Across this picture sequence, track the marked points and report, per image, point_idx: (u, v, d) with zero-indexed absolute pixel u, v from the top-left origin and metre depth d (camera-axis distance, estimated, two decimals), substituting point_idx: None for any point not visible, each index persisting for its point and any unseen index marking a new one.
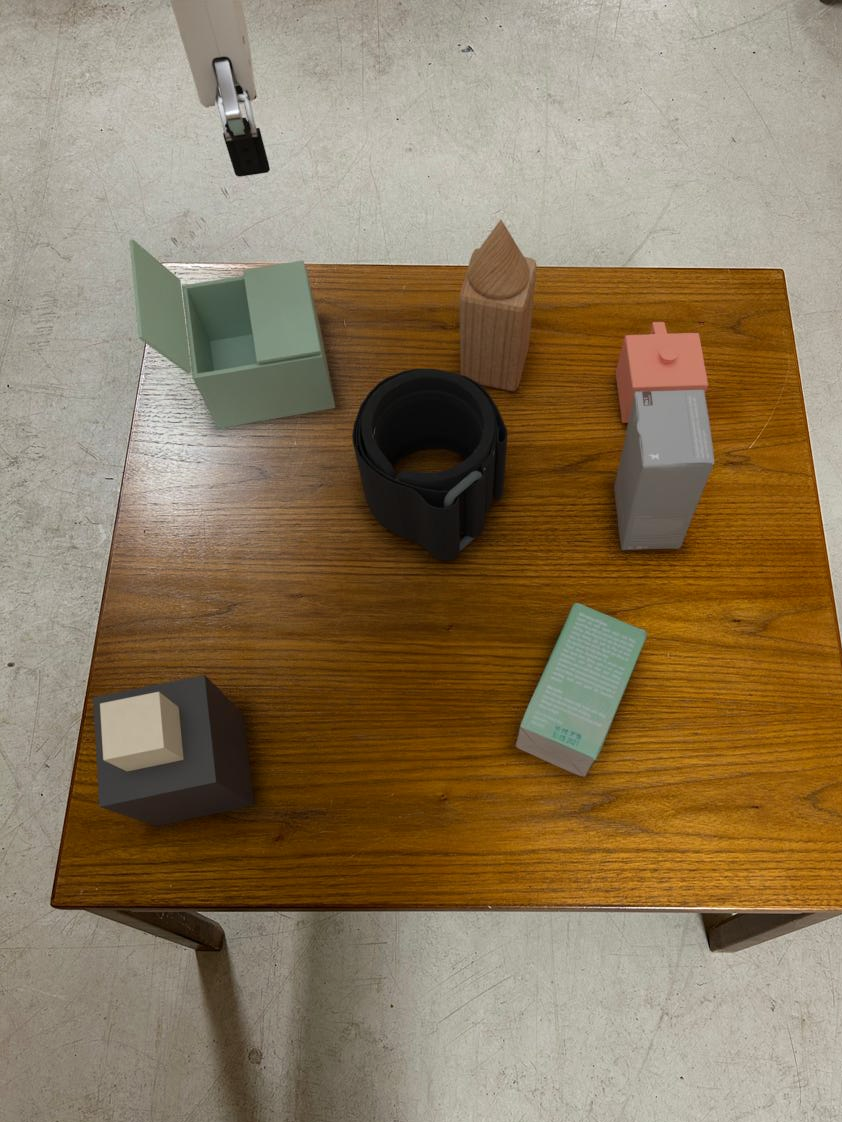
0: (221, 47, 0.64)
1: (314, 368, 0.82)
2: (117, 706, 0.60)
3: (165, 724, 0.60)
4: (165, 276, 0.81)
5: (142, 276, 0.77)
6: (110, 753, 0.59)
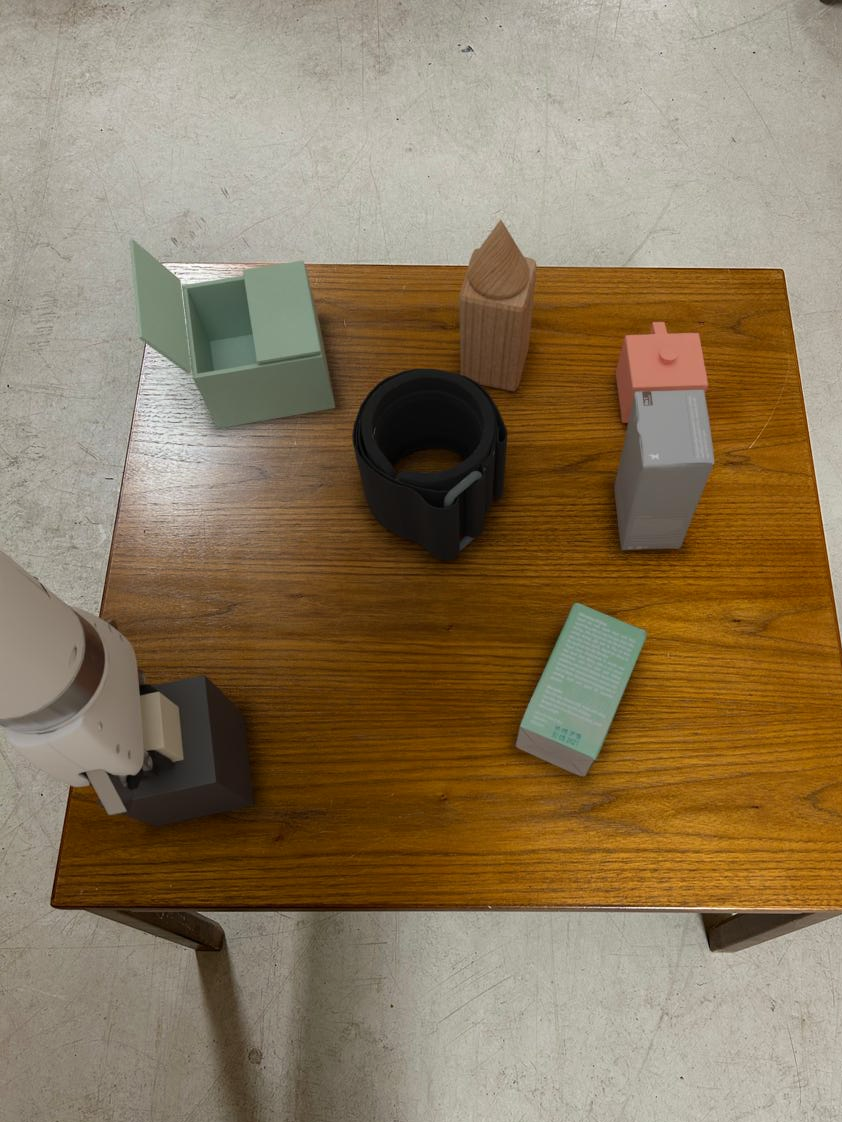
0: (88, 767, 0.50)
1: (314, 368, 0.82)
2: None
3: (165, 724, 0.60)
4: (165, 276, 0.81)
5: (142, 276, 0.77)
6: None
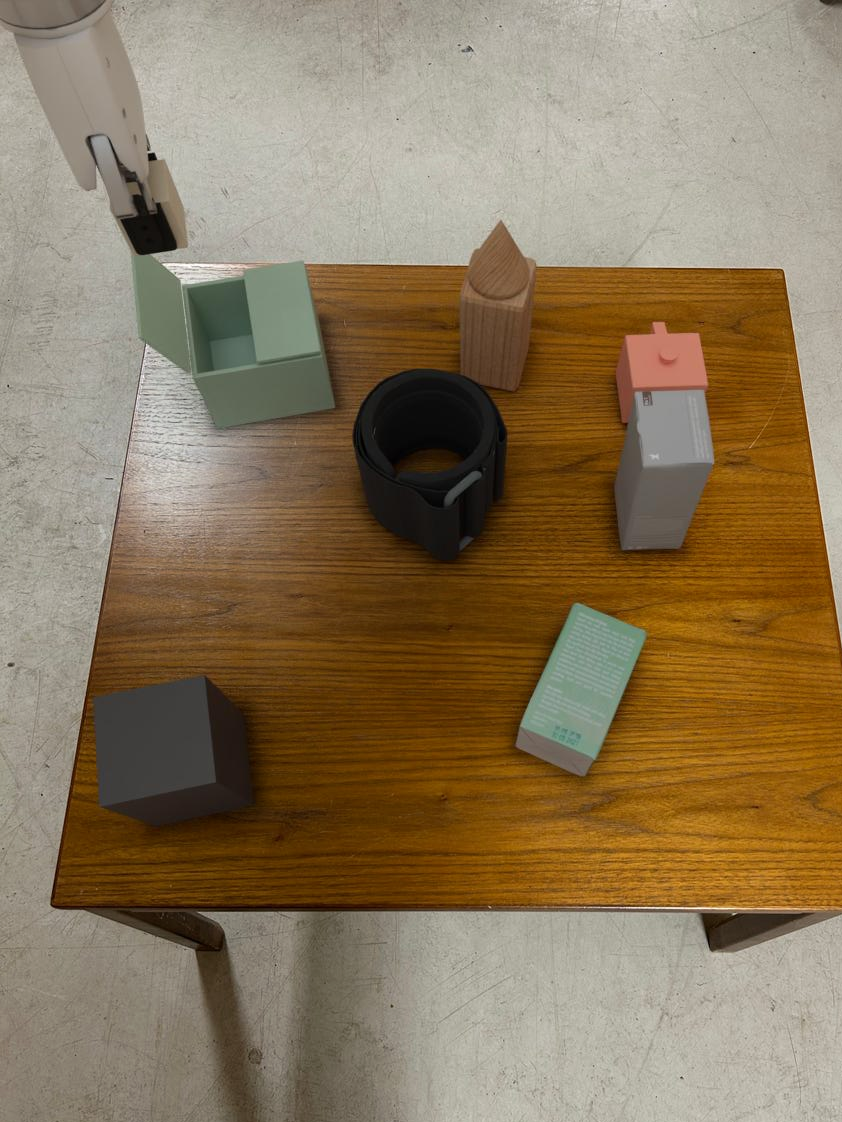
0: (95, 123, 0.51)
1: (314, 368, 0.82)
2: None
3: (171, 191, 0.62)
4: (165, 276, 0.81)
5: (142, 276, 0.77)
6: None
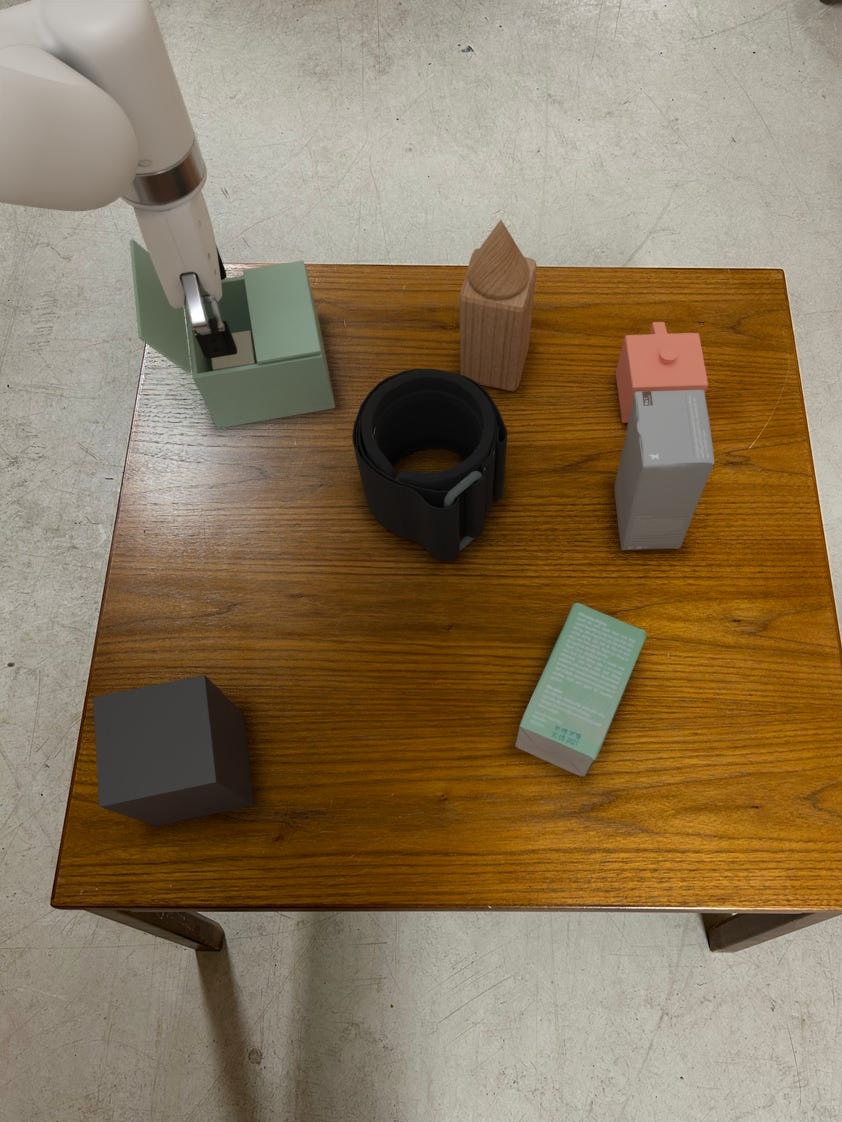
0: (188, 265, 0.69)
1: (314, 368, 0.82)
2: None
3: (254, 353, 0.86)
4: None
5: (142, 276, 0.77)
6: (217, 365, 0.85)
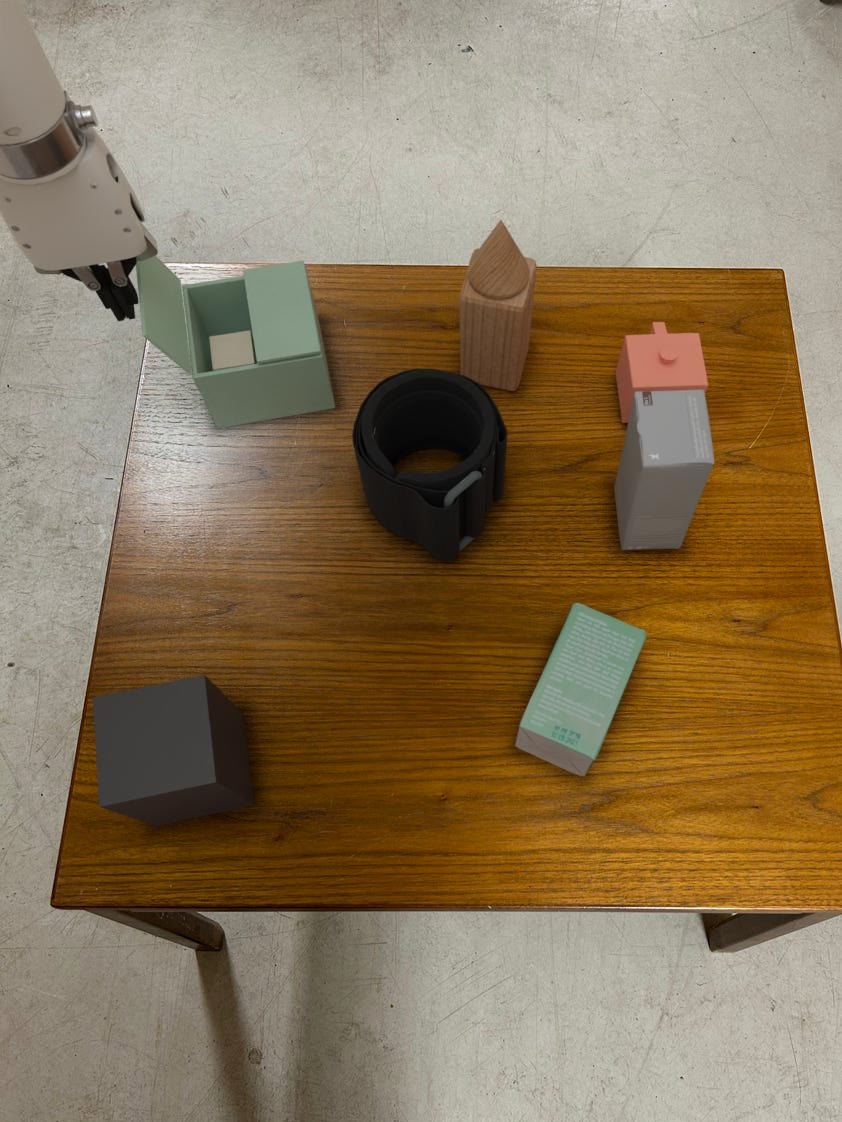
0: None
1: (314, 368, 0.82)
2: (221, 338, 0.86)
3: (254, 353, 0.86)
4: (166, 275, 0.81)
5: (145, 274, 0.77)
6: (217, 365, 0.85)
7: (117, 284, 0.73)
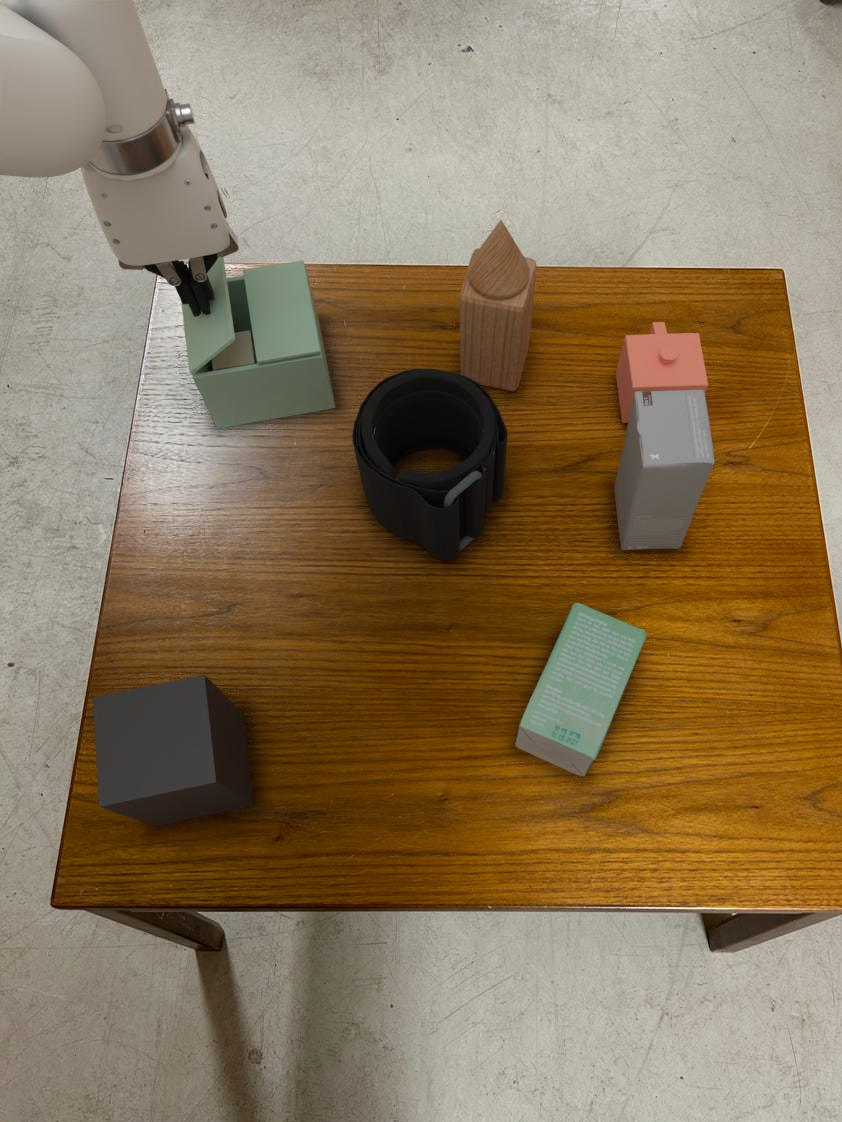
0: None
1: (314, 368, 0.82)
2: None
3: (254, 353, 0.86)
4: None
5: None
6: (217, 365, 0.85)
7: (197, 280, 0.75)
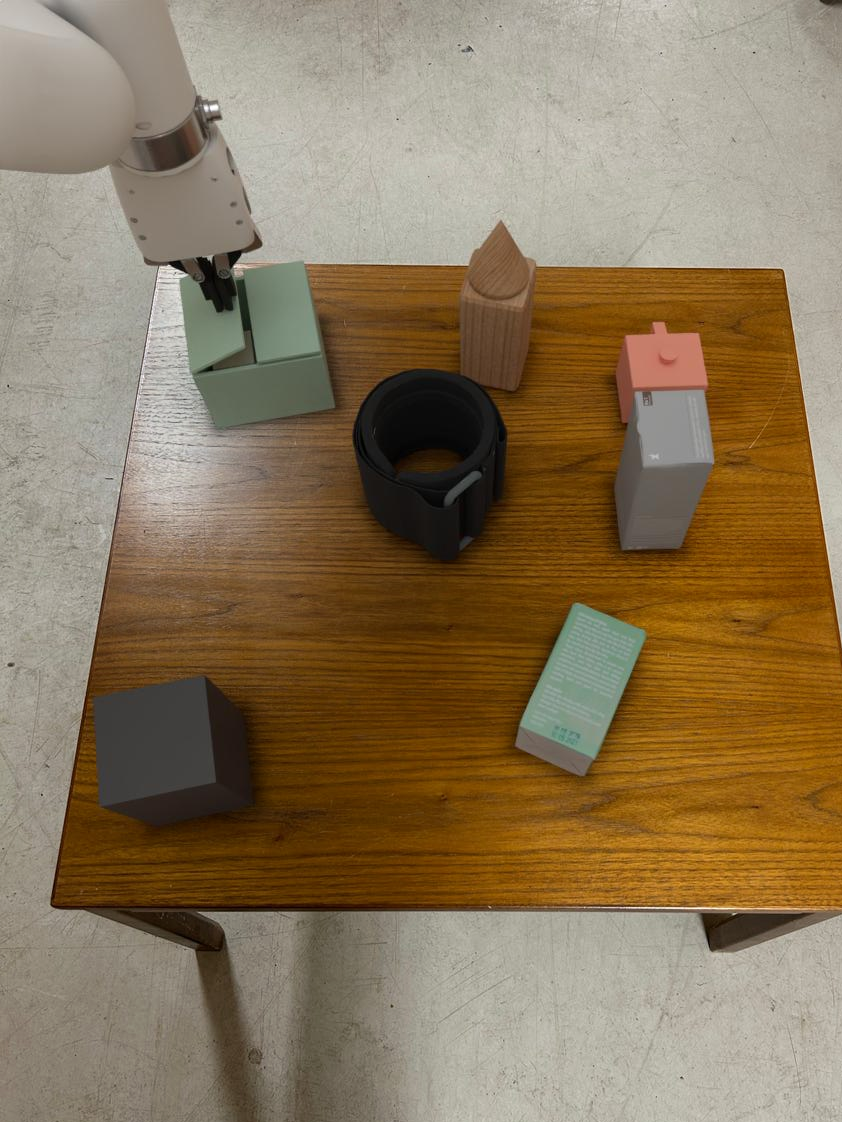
0: None
1: (314, 368, 0.82)
2: None
3: (254, 353, 0.86)
4: None
5: None
6: (217, 365, 0.85)
7: (221, 276, 0.75)
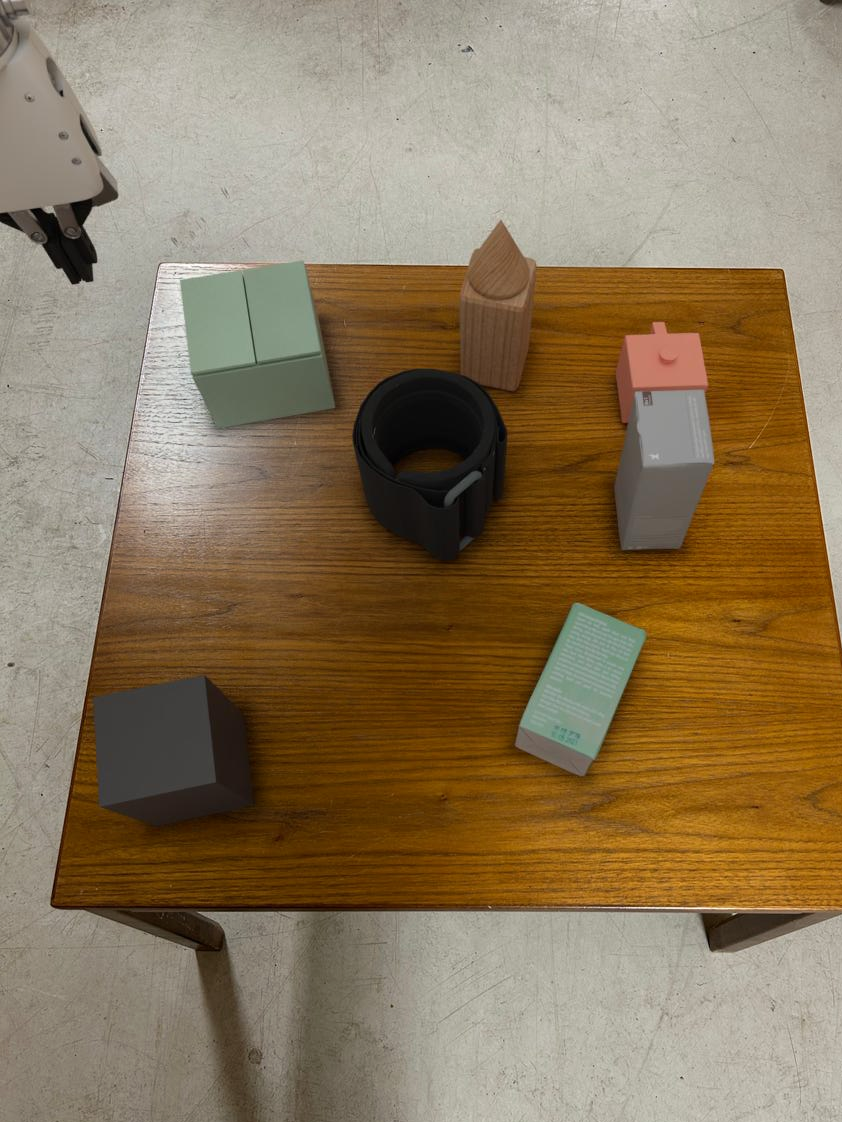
0: None
1: (314, 368, 0.82)
2: None
3: None
4: None
5: None
6: None
7: (68, 236, 0.59)
